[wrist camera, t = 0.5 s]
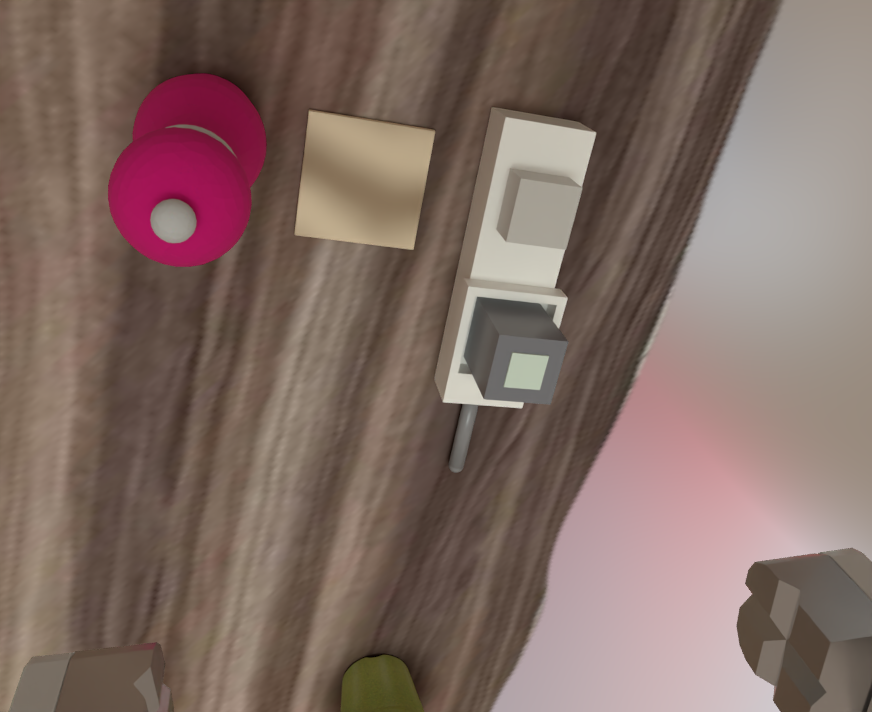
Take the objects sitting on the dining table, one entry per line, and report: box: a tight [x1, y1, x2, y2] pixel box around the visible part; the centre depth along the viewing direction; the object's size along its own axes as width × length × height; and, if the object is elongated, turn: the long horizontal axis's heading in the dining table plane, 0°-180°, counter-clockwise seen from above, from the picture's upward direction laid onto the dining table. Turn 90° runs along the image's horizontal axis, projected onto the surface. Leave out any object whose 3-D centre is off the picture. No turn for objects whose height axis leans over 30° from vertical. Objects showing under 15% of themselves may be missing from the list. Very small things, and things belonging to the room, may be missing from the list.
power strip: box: [434, 107, 596, 472], centre depth 56 cm, size 28×7×6 cm, turn 169°
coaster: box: [294, 109, 435, 250], centre depth 52 cm, size 8×8×1 cm
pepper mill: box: [108, 73, 267, 267], centre depth 40 cm, size 7×7×20 cm
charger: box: [464, 297, 568, 404], centre depth 53 cm, size 4×4×6 cm
